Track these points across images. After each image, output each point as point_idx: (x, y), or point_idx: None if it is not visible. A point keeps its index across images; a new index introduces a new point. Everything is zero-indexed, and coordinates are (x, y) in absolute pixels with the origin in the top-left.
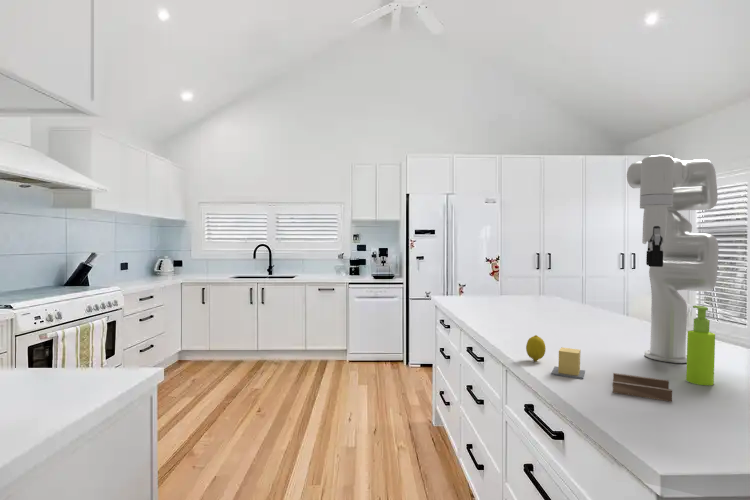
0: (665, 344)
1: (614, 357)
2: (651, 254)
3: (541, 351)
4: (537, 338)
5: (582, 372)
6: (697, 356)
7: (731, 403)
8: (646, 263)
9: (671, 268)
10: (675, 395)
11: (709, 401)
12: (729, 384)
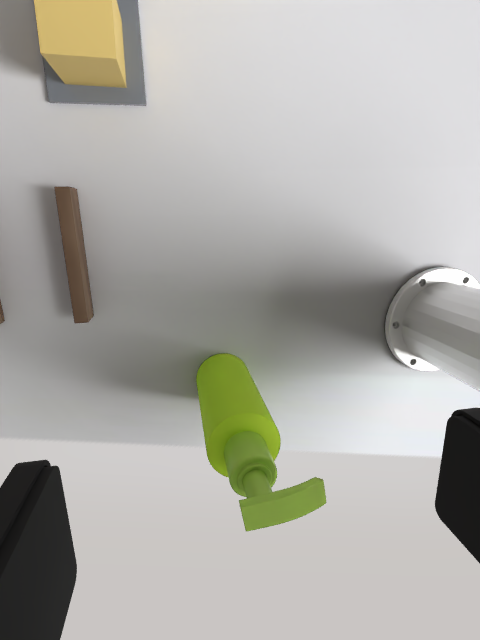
0: (427, 325)
1: (382, 188)
2: None
3: None
4: None
5: (114, 96)
6: (203, 403)
7: (76, 424)
8: (468, 414)
9: None
10: (58, 329)
11: (59, 389)
12: None
